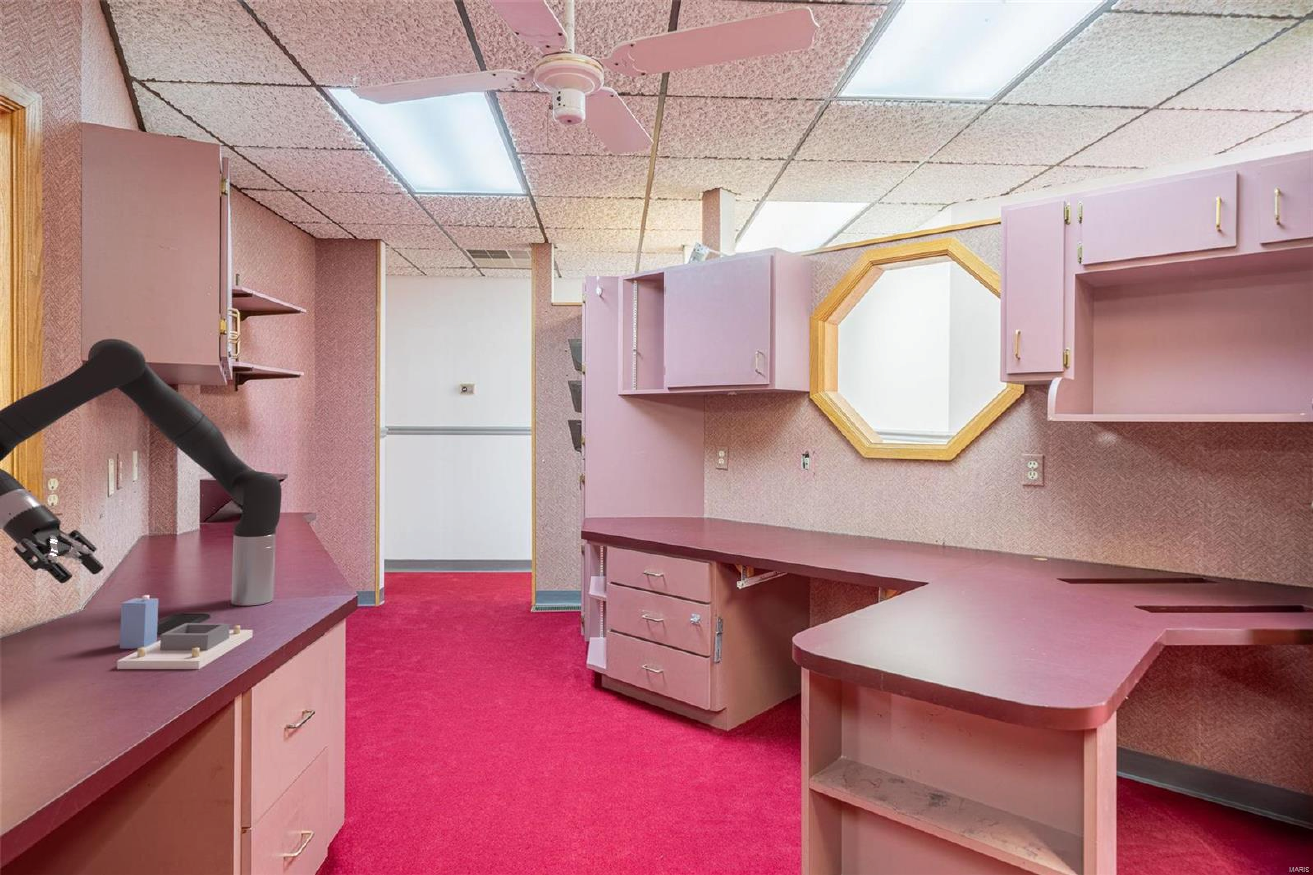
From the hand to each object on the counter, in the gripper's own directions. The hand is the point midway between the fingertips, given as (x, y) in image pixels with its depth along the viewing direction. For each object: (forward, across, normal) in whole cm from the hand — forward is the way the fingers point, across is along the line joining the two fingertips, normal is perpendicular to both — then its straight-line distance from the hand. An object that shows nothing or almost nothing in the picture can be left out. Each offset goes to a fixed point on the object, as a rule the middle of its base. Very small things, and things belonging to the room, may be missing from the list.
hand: (84, 575), depth 136 cm
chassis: (+26, -4, -6) cm, 27 cm away
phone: (+17, +14, +3) cm, 22 cm away
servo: (+17, 0, +2) cm, 18 cm away
